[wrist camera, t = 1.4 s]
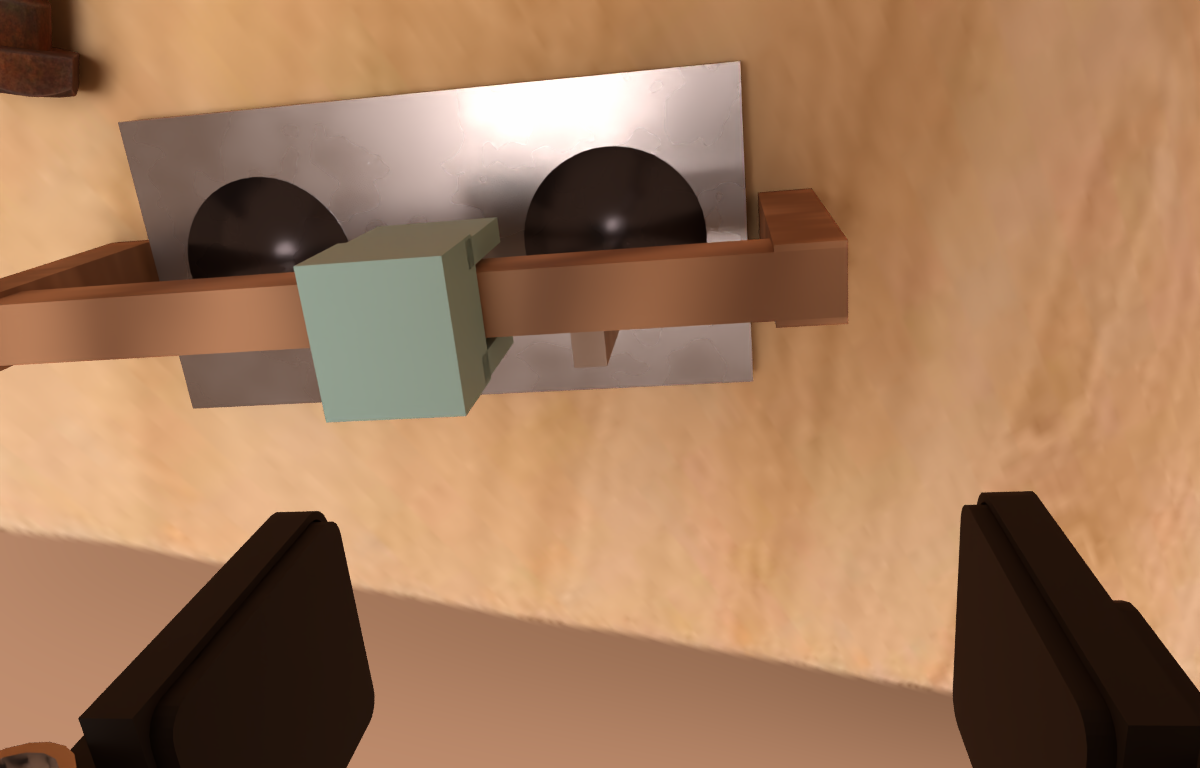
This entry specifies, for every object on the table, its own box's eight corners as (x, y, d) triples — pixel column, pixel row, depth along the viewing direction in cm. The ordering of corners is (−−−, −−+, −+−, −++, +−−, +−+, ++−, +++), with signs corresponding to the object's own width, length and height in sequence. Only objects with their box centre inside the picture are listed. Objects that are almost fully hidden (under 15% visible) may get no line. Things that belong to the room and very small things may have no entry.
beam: (811, 188, 34) (847, 239, 25) (812, 273, 35) (848, 353, 26) (112, 242, 38) (-81, 304, 29) (132, 317, 40) (-47, 400, 30)
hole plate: (739, 60, 33) (740, 61, 32) (752, 371, 37) (753, 381, 36) (136, 120, 36) (116, 122, 35) (207, 398, 40) (192, 409, 39)
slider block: (528, 190, 34) (441, 255, 23) (542, 304, 35) (465, 416, 25) (425, 198, 34) (293, 266, 24) (443, 310, 36) (326, 422, 25)
